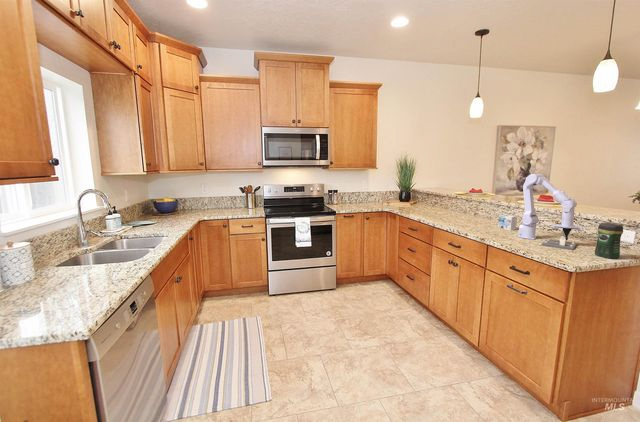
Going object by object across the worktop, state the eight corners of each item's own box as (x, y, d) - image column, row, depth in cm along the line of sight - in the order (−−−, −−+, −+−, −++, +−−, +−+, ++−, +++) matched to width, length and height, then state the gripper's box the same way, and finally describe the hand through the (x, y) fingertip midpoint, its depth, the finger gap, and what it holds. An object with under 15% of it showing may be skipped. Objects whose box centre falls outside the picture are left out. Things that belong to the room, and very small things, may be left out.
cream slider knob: (560, 242, 186) (560, 236, 186) (560, 241, 188) (561, 236, 188) (564, 243, 185) (565, 237, 184) (565, 242, 187) (566, 236, 186)
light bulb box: (497, 228, 237) (498, 214, 235) (502, 227, 239) (504, 214, 238) (510, 230, 227) (512, 217, 225) (516, 229, 230) (517, 216, 228)
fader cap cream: (559, 244, 180) (560, 239, 180) (560, 243, 182) (560, 238, 182) (564, 245, 179) (565, 239, 178) (565, 244, 181) (565, 239, 180)
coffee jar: (622, 259, 157) (628, 225, 154) (609, 259, 156) (615, 225, 153) (603, 253, 166) (607, 221, 163) (591, 254, 165) (595, 222, 162)
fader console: (541, 245, 184) (541, 242, 184) (547, 240, 196) (547, 237, 196) (572, 250, 173) (573, 247, 173) (576, 244, 186) (577, 241, 185)
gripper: (552, 218, 186) (550, 239, 188) (582, 220, 176) (580, 242, 177) (554, 217, 191) (552, 237, 193) (583, 219, 180) (581, 240, 182)
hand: (566, 240), depth 185 cm, fingers closed, pressing on cream slider knob
